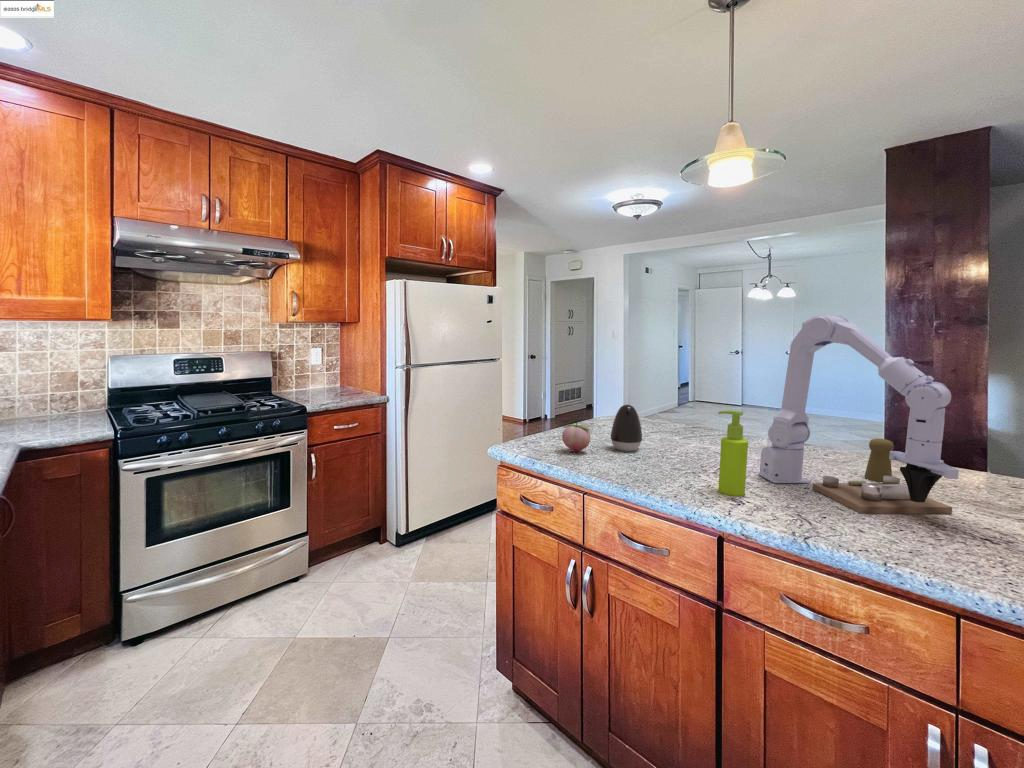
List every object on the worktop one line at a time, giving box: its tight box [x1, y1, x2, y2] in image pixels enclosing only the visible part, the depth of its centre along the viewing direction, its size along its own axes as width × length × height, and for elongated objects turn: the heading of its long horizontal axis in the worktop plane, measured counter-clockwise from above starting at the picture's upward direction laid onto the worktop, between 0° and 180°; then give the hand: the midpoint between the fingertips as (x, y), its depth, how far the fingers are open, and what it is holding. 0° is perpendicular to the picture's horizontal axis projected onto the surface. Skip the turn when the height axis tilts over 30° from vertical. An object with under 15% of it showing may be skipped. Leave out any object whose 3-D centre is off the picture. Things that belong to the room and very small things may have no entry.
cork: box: [863, 438, 894, 483], centre depth 125 cm, size 6×6×11 cm
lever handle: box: [861, 482, 910, 501], centre depth 106 cm, size 12×4×3 cm, turn 91°
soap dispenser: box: [717, 409, 749, 497], centre depth 114 cm, size 6×7×20 cm
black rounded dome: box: [610, 404, 643, 452], centre depth 155 cm, size 10×10×15 cm
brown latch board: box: [812, 475, 953, 515], centre depth 109 cm, size 20×16×4 cm
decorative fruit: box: [561, 421, 591, 453], centre depth 152 cm, size 9×8×10 cm
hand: (917, 501), depth 101 cm, fingers closed
